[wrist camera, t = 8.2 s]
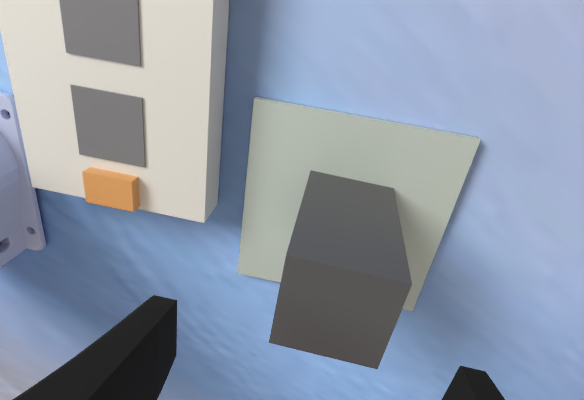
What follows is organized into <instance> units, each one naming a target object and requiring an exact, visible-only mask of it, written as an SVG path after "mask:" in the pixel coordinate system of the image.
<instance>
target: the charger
mask: <svg viewBox="0 0 584 400" xmlns="http://www.w3.org/2000/svg"><path fill="white" fill-rule="evenodd" d="M411 286H412V281H411V275H410V270H409V265H408V260H407V255H406V249H405V244H404V239H403V234H402V229H401V223H400V218H399V213H398V208H397V203H396V197H395V192H394V188H391V187H386V186H381V185H377V184H372V183H368V182H363V181H358V180H354V179H349V178H344V177H340V176H335V175H331V174H326V173H321V172H317V171H312V170H311V171H310V174H309V177H308V181H307V184H306V188H305V191H304V195H303V198H302V202H301V205H300V209H299V212H298V215H297V219H296V222H295V226H294V229H293V233H292V236H291V240H290V243H289V247H288V250H287V253H286V258H285V263H284V268H283V273H282V278H281V283H280V289H279V294H278V299H277V304H276V309H275V314H274V319H273V324H272V330H271V335H270V340H269V343H273V344H277V345H281V346H285V347H289V348H293V349H297V350H301V351H305V352H309V353H313V354H317V355H322V356H326V357H330V358H334V359H338V360H342V361H346V362H350V363H354V364H358V365H362V366H366V367H370V368H375V369H378V366H379V364H380V361H381V359H382V357H383V354H384V352H385V349H386V347H387V344H388V342H389V340H390V337H391V335H392V332H393V330H394V327H395V325H396V322H397V320H398V318H399V315H400V313H401V310H402V308H403V305H404V303H405V300H406V298H407V296H408V293H409V291H410V288H411Z"/></svg>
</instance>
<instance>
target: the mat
mask: <svg viewBox="0 0 584 400" xmlns="http://www.w3.org/2000/svg"><path fill="white" fill-rule="evenodd" d="M480 141H481V140H480V139H479V138H478V137H473V136H468V135H462V134H457V133H451V132H446V131H441V130H435V129H430V128H424V127H419V126H413V125H408V124H402V123H397V122H391V121H386V120H381V119H375V118H370V117H364V116H359V115H353V114H348V113H342V112H337V111H331V110H326V109H320V108H315V107H310V106H304V105H299V104H293V103H288V102H282V101H277V100H271V99H266V98H260V97H255V98H254V103H253V114H252V124H251V135H250V145H249V156H248V166H247V177H246V187H245V198H244V208H243V219H242V229H241V240H240V250H239V261H238V272H237V273H239V274H243V275H248V276H252V277H257V278H262V279H266V280H271V281H275V282H280V283H281V278H282V273H283V268H284V263H285V258H286V253H287V250H288V247H289V243H290V240H291V236H292V233H293V229H294V226H295V222H296V219H297V215H298V212H299V209H300V205H301V202H302V198H303V195H304V191H305V188H306V184H307V181H308V177H309V174H310V171H311V170H312V171H317V172H321V173H326V174H331V175H335V176H340V177H344V178H349V179H354V180H358V181H363V182H368V183H372V184H377V185H381V186H386V187H391V188H394V192H395V197H396V203H397V208H398V213H399V218H400V223H401V229H402V234H403V239H404V244H405V249H406V255H407V260H408V265H409V270H410V275H411V281H412V286H411V288H410V291H409V293H408V296H407V298H406V300H405V303H404V305H403V308H402V309H404V310H409V311H413V309H414V307H415V304H416V302H417V299H418V297H419V294H420V292H421V289H422V287H423V284H424V282H425V279H426V277H427V274H428V271H429V269H430V266H431V264H432V261H433V259H434V256H435V254H436V251H437V249H438V246H439V244H440V241H441V239H442V236H443V234H444V231H445V229H446V226H447V224H448V221H449V219H450V216H451V214H452V211H453V209H454V206H455V203H456V201H457V198H458V196H459V193H460V191H461V188H462V186H463V183H464V181H465V178H466V176H467V173H468V171H469V168H470V166H471V163H472V161H473V158H474V156H475V153H476V151H477V148H478V146H479V143H480Z"/></svg>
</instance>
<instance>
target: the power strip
mask: <svg viewBox="0 0 584 400" xmlns="http://www.w3.org/2000/svg"><path fill="white" fill-rule="evenodd" d="M228 17H229V0H0V30H1V35H2V40H3V45H4V50H5V55H6V60H7V64H8V69H9V74H10V79H11V84H12V89H13V94H14V99H15V104H16V109H17V114H18V119H19V124H20V129H21V134H22V139H23V143H24V148H25V153H26V158H27V163H28V168H29V173H30V178H31V183H32V187H34V188H39V189H44V190H49V191H54V192H58V193H63V194H68V195H73V196H78V197H82V198H86V202H89V203H93V204H98V205H103V206H108V207H112V208H117V209H122V210H127V211H131V212H134V211H135V210H136V209H140V210H144V211H149V212H154V213H159V214H164V215H168V216H173V217H178V218H183V219H188V220H192V221H197V222H202V223H205V221H206V220H207V219H208V217H209V216H210V214H211V213H212V212H213V210H214V209H215V207H216V206H217V204H218V191H219V174H220V156H221V139H222V122H223V104H224V87H225V69H226V52H227V35H228Z"/></svg>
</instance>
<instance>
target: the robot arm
mask: <svg viewBox="0 0 584 400" xmlns="http://www.w3.org/2000/svg"><path fill="white" fill-rule="evenodd" d="M7 111H8V112H9V113H10V116H9V115H8V113H7ZM45 246H46V241H45V236H44V231H43V226H42V221H41V216H40V211H39V206H38V201H37V196H36V191H35V188H34V187H32V183H31V178H30V173H29V168H28V163H27V158H26V153H25V148H24V143H23V139H22V134H21V129H20V124H19V119H18V114H17V109H16V104H15V99H14V97H13V96H12V95H10V94H8V93H3V92H0V268H1V267H2V266H4V265H5V264H6V263H8V262H9V261H10V260H12V259H13V258H14V257H16V256H17V255H19V254H20V253H21V252H23V251H24V250H25V249H30V250H35V251H40V250H42V249H43V248H44V247H45ZM176 337H177V300H173V299H168V298H164V297H160V296H155V295H154V296H152V297H150V298H149V299H148V300H147V301H145V302H144V303H143V304H142V305H141V306H139V307H138V308H137V309H136V310H134V311H133V312H132V313H131V314H129V315H128V316H127V317H126V318H125V319H123V320H122V321H121V322H120V323H118V324H117V325H116V326H114V327H113V328H112V329H111V330H109V331H108V332H107V333H106V334H104V335H103V336H102V337H100V338H99V339H98V340H96V341H95V342H94V343H92V344H91V345H90V346H88V347H87V348H86V349H85V350H83V351H82V352H81V353H79V354H78V355H77V356H75V357H74V358H73V359H71V360H70V361H68V362H67V363H66V364H64V365H63V366H61V367H60V368H58V369H57V370H56V371H54V372H53V373H51V374H50V375H48V376H47V377H45V378H44V379H43V380H41V381H40V382H38V383H37V384H35V385H34V386H33V387H31V388H30V389H28V390H27V391H25V392H24V393H22V394H21V395H19V396H17V397H16V398H14V399H13V400H157V398H158V396H159V395H160V392H161V390H162V388H163V385H164V383H165V381H166V379H167V376H168V374H169V371H170V369H171V367H172V364H173V362H174V359H175V357H176ZM442 400H505V399H504V397H503V396H502V395H501V393H500V392H499V390H498V389H497V387H496V386H495V384H494V383H493V381H492V380H491V379H490V377H489V376H488V374H487V373H486V372H485V371H481V370H476V369H472V368H468V367H463V366H460V367H459V369H458V371H457V373H456V374H455V376H454V378H453V380H452V382H451V384H450V385H449V387H448V389H447V391H446V393H445V395H444V397H443V398H442Z"/></svg>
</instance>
